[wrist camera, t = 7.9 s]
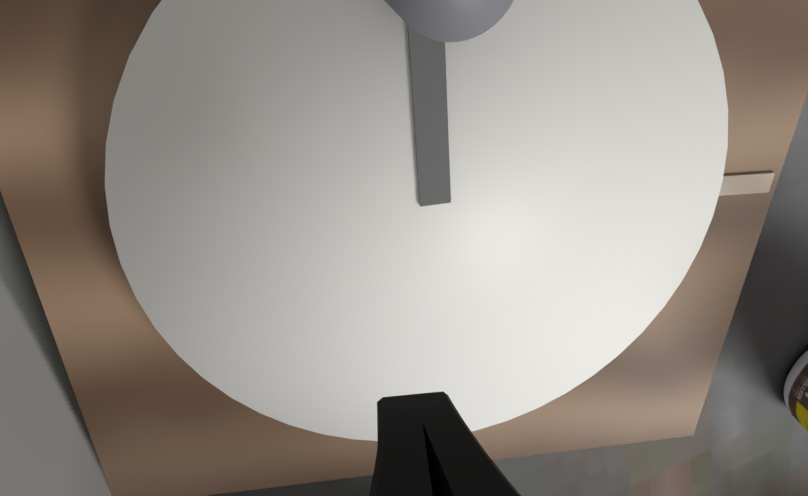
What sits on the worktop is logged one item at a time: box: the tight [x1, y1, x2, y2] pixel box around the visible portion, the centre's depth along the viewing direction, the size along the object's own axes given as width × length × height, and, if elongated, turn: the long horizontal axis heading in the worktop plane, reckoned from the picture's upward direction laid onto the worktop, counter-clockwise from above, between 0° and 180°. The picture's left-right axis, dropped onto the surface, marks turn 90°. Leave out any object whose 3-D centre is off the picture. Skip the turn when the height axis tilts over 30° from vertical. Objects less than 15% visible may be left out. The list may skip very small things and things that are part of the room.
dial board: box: [0, 0, 808, 496], centre depth 19 cm, size 24×24×1 cm
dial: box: [105, 0, 728, 441], centre depth 16 cm, size 18×18×4 cm
